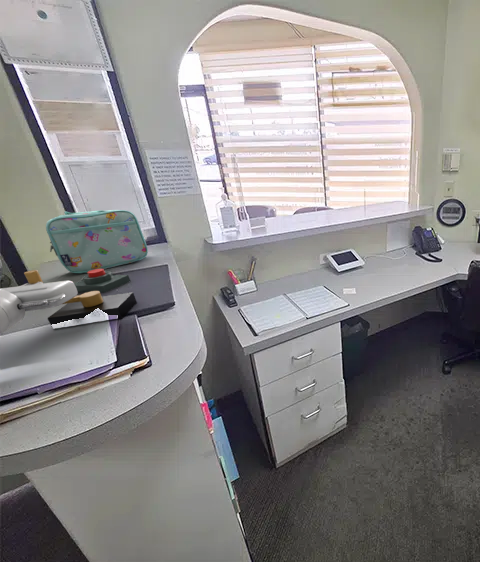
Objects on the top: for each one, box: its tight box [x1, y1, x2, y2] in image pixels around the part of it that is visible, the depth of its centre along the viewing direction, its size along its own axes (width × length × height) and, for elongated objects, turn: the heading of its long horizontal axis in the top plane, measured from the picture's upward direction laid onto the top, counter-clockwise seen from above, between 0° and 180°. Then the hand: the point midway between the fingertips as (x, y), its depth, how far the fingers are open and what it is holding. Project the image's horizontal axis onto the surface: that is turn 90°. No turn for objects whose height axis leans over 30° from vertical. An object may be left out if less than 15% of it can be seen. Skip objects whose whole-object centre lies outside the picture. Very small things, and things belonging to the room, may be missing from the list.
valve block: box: [47, 291, 138, 326], centre depth 79 cm, size 14×10×3 cm
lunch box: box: [45, 209, 149, 274], centre depth 114 cm, size 27×10×21 cm, turn 136°
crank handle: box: [23, 269, 103, 307], centre depth 75 cm, size 12×4×10 cm, turn 108°
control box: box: [73, 270, 131, 293], centre depth 98 cm, size 12×9×4 cm
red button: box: [86, 269, 106, 278], centre depth 97 cm, size 4×4×2 cm
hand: (36, 285), depth 72 cm, fingers closed
